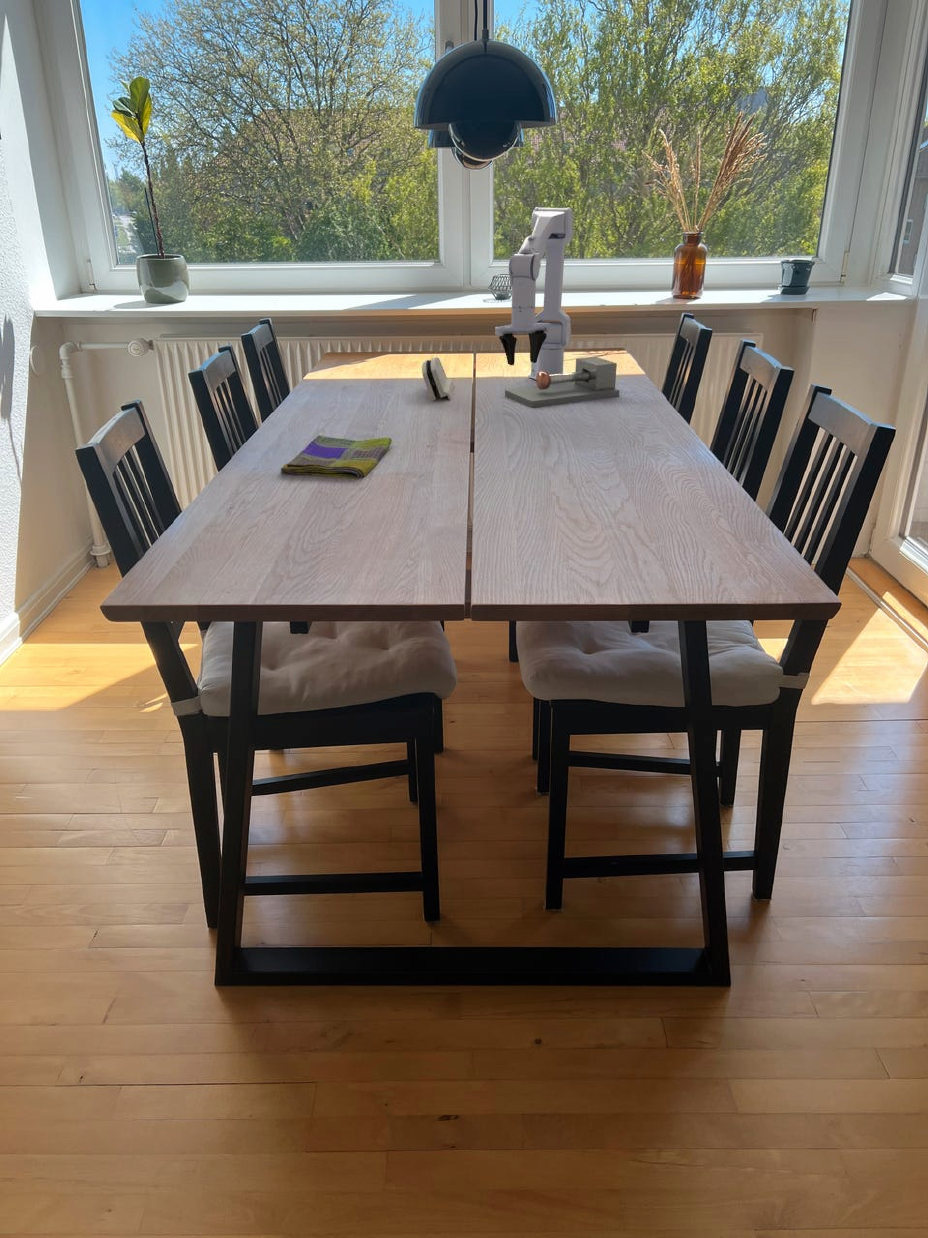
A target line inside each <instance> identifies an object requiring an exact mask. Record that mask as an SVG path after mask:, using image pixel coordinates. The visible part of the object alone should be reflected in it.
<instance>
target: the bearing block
mask: <svg viewBox="0 0 928 1238" xmlns="http://www.w3.org/2000/svg"><path fill="white" fill-rule="evenodd" d="M617 365H618V363H617V362H613V361H611V360H607V359H605V358H601V357H598V356H587V357H579V358H575V371H574V372H581V371H589V380H585V381H577V382H575V384H578V385H580V386H583V387H586V388H588V389H591V390H594V391H601V390H609V389H616V382H617V380H616V379H617Z"/></svg>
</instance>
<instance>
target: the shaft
mask: <svg viewBox="0 0 928 1238" xmlns="http://www.w3.org/2000/svg"><path fill="white" fill-rule="evenodd" d="M585 380H589V371H581V372H575V371H574V372H565V373H564V372H563V374H554V375H549V374H548V373H547V372H539V373H538V374H537V376H536V380H535V384H536V386H537V387H538V388H539V389H540V390H544V389H548V388H549V386H550V385H552V384H560V383H569V382H577V381H585Z"/></svg>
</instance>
